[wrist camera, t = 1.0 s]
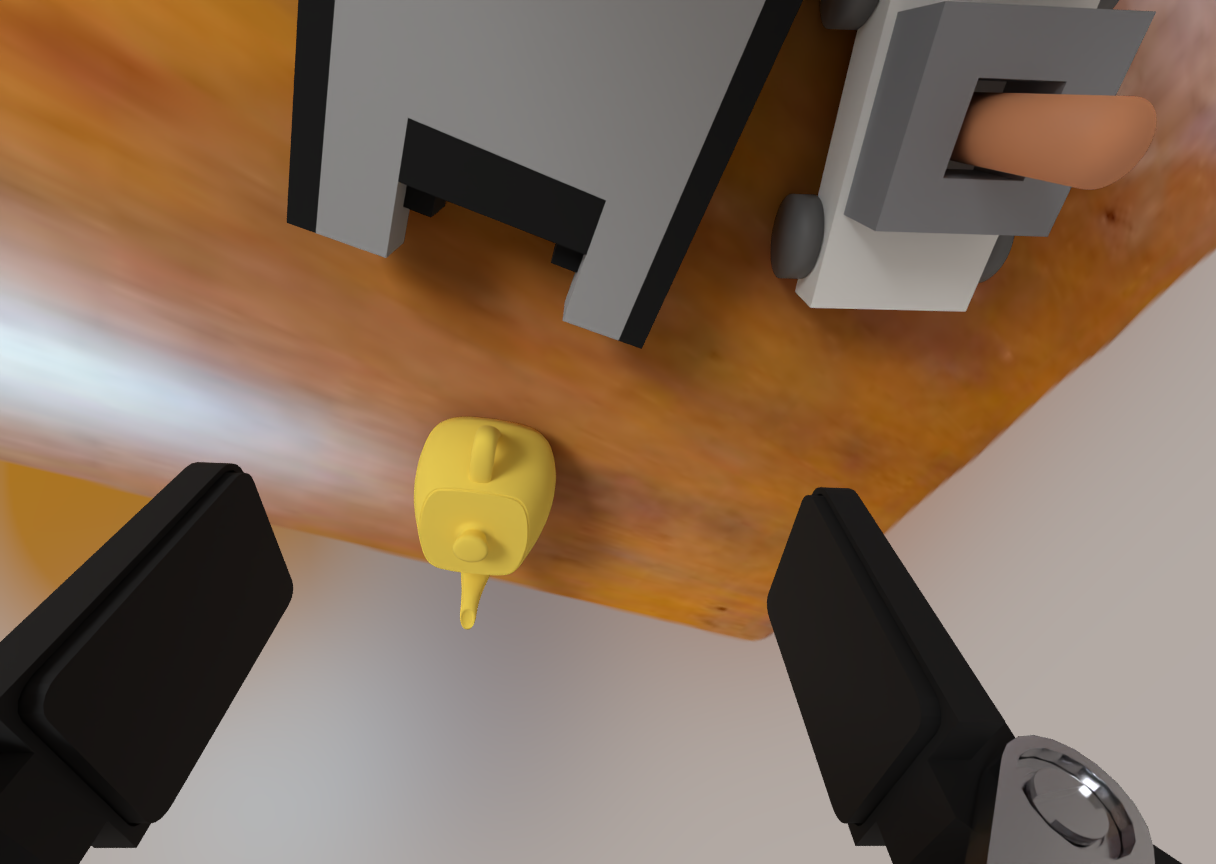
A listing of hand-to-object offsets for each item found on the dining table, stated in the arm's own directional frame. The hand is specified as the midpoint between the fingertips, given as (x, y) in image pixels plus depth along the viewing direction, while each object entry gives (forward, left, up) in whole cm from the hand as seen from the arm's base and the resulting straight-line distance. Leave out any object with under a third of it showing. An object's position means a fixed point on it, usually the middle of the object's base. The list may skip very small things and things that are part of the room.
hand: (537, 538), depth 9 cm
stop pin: (-6, +20, -24) cm, 32 cm away
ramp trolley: (-6, +20, -30) cm, 36 cm away
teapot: (+21, -7, -30) cm, 38 cm away
